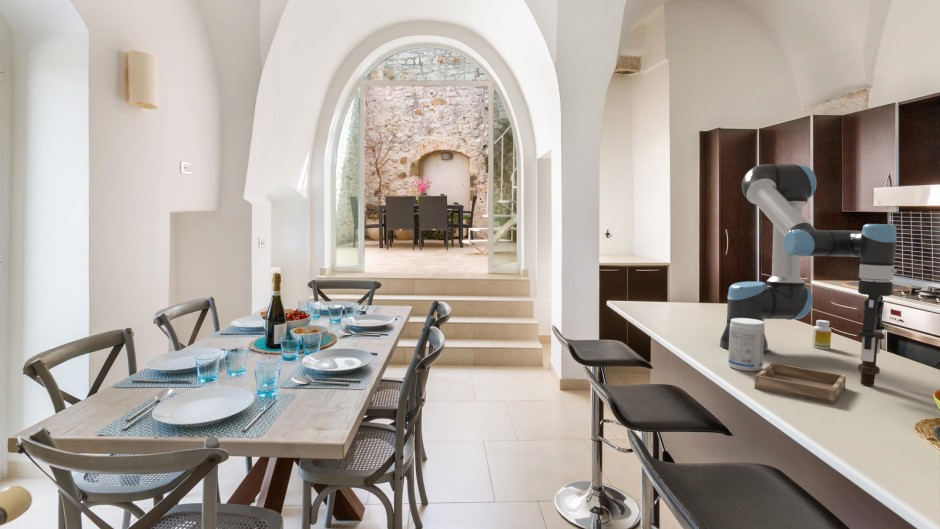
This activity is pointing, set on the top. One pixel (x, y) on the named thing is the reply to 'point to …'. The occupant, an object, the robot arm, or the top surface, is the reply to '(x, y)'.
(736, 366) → the supplement tub
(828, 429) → the top surface
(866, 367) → the bolt
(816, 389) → the tray
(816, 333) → the supplement bottle
